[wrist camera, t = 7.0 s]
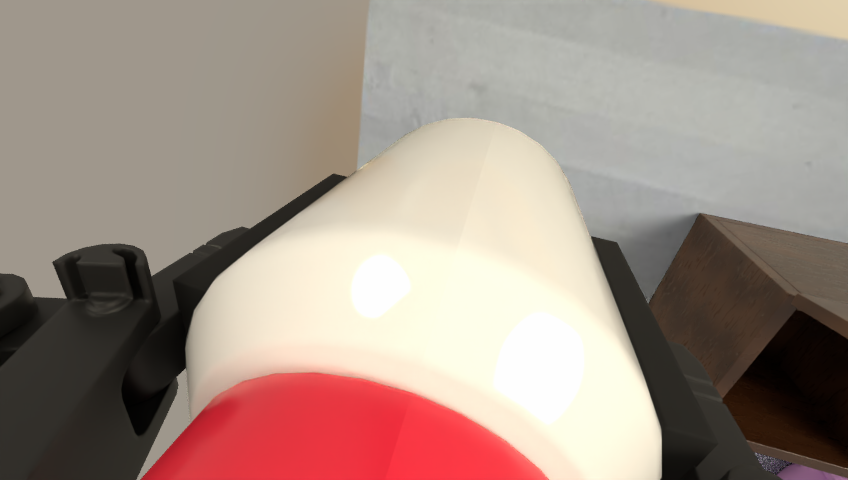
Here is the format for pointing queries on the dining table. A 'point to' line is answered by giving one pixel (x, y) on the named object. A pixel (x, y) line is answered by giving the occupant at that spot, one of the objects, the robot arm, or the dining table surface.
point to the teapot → (806, 474)
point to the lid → (824, 312)
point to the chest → (764, 334)
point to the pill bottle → (420, 332)
